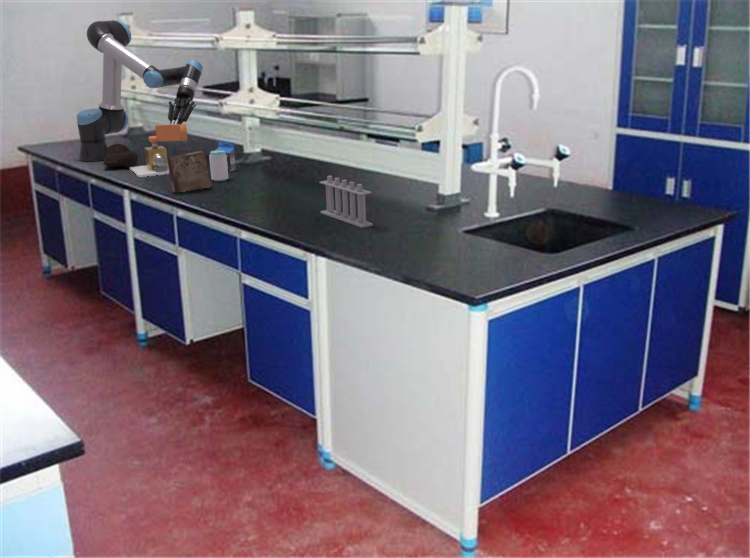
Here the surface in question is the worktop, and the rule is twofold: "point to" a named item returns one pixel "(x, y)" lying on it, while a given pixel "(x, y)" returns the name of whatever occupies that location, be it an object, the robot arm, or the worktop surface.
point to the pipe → (120, 156)
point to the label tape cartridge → (228, 154)
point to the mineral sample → (188, 171)
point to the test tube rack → (346, 202)
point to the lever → (170, 133)
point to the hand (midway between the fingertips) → (172, 133)
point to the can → (218, 165)
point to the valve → (156, 158)
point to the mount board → (146, 171)
